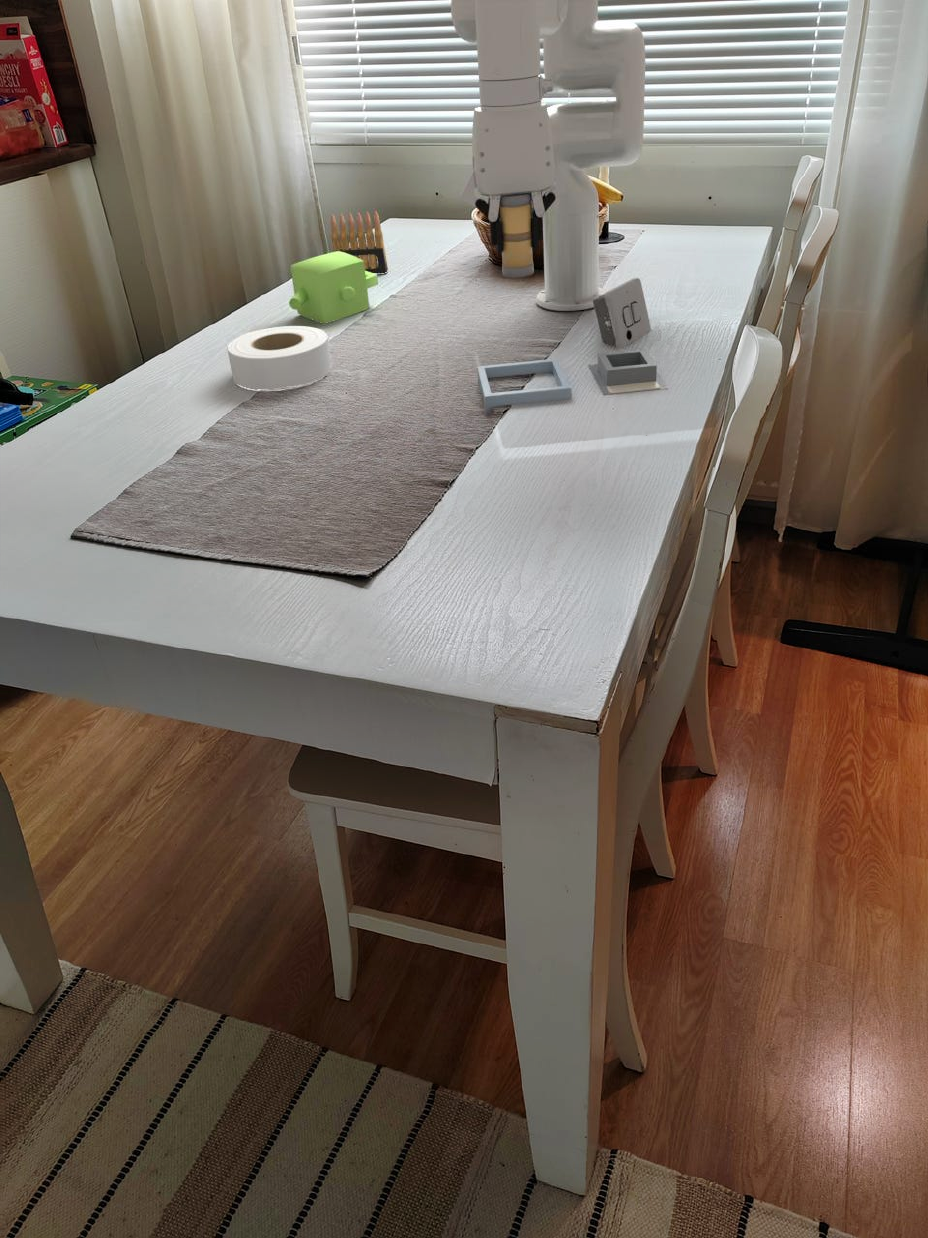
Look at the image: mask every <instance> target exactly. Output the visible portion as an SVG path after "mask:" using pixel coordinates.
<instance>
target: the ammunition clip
mask: <svg viewBox="0 0 928 1238" xmlns="http://www.w3.org/2000/svg"><path fill="white" fill-rule="evenodd" d="M373 214H374V215H373V222H374V223H372V220H371V215H370V213H369V212H368V211H366V212H365V221H364V222H365V226H364V223H363V218H362V216H361V214H360V212H359V211H358V212H357V215H356V226H355V222H354V218H353V215H352V214H351V212H349V213H348V216H347V221H348V222H347V223H348V225H347V226H348V229H347V226H346V221H345V217H344V215H343V214H342V213H339V230H338V225H337V221H336V218H335V215H334V214H333V213H331V215H330V230H331V243H332V252H336V251H340V252H344V253H347V254H350V255H352V256H355V257H357V258H359V259H361V260H363V261H364V266H365V271H368V272H371V273H385V272H387V270H388V271H389V268H388V263H387V262H388V261H387V256H386V250H385V244H384V237H383V236H384V234H383V232H382V226H381V221H380V217H379V213H378V211H377V210H375V211H374V213H373ZM373 225H374V226H373ZM355 227H356V228H357V232H356V228H355ZM364 227H365V228H364ZM373 227H374V230H373ZM347 230H348V231H347ZM339 232H340V233H339ZM387 273H388V272H387Z"/></svg>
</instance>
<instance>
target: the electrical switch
mask: <svg viewBox="0 0 928 1238" xmlns="http://www.w3.org/2000/svg"><path fill="white" fill-rule="evenodd" d="M593 304H594V307H593V309H594V310H595V311H594V313H595V316H596V319H597V324H598V329H599V332H600V333H599V334H600V337H601V341H602V343H604V344H610V345H614V346H615V347H616V348H621V349H622V348H624V347H626V346H628V345H630V344H631V343H633V342H634V341H636V340H638V339H639V338H641V337H643V336H644V335H646V334H648V333H649V332H651V331H652V327H651V322H650V318H649V313H648V309H647V304H646V300H645V295H644V290H643V286H642V281H641V279H640V278H639V277H634V278H632V279H629V280H628V281H626V282H623V283H622V284H620V285H618V286H616V287H614V288H612V289H609V290H608V291H607V292H606V293H605V294H604V295H602V296H600V297H598V298H596V299H594V300H593Z"/></svg>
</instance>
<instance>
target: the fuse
mask: <svg viewBox="0 0 928 1238" xmlns="http://www.w3.org/2000/svg"><path fill="white" fill-rule="evenodd" d="M531 210H532V202H531V193H524V194H514V195H503V196H500V203H499V213H500V214H499V216H500V220H501V221H502V235H503V252H502V253H501V256H502V264H501V268H502V269H501V270H502V276H503V277H505V278H524V277H528V276H531V275H533V274H534V272H535V269H534V260H533V248H532V228H531Z"/></svg>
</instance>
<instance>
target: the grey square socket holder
mask: <svg viewBox="0 0 928 1238" xmlns="http://www.w3.org/2000/svg"><path fill="white" fill-rule="evenodd" d="M587 366H588V368H589V370H590V372H591V375H592V376H593V379H594V380H595V381H596V383H597V386H598V388H599V389H600V391H601V393H602V395H603V396H608V395H609V396H610V395H619V394H627V393H629V394H630V393H640V392H647V391H648V392H650V391H659V390H667V389H668V387H667V385H666V384H665V383H664V381H663V380H662V378H661V377H660V375H659V373H658V372H657V366H658V365H657V364H656V362H655V361H654V360H653V358H652V357H651V355H650V353H649V352H648V351H647V350H646V348H642V349H632V350H630V349H629V350H622V351H612V352H599V353H597V363H596V364H587Z"/></svg>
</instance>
